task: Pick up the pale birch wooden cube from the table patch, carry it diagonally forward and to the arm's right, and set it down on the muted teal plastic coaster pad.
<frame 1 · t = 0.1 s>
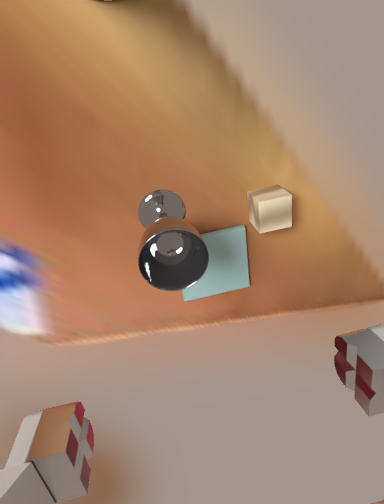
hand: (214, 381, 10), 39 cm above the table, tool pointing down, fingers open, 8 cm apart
cube: (263, 203, 51), on the table
wine glass: (162, 212, 49), on the table
pad: (212, 263, 54), on the table
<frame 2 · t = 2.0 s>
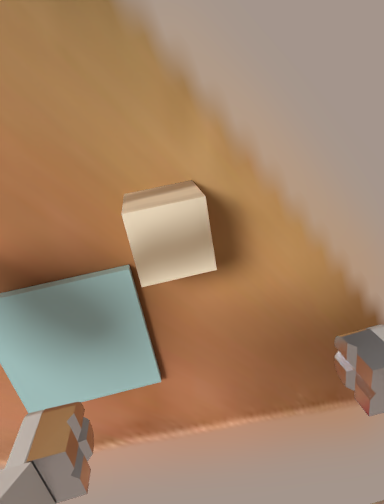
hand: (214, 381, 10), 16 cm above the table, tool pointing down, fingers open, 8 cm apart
cube: (165, 219, 24), on the table
pad: (77, 341, 27), on the table
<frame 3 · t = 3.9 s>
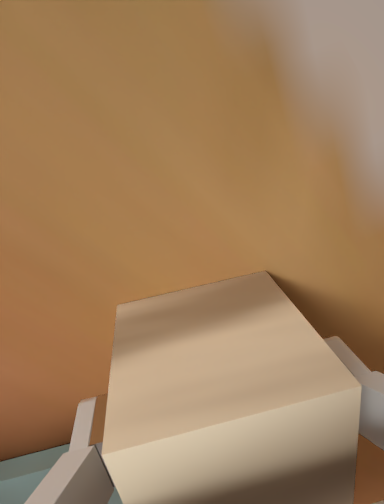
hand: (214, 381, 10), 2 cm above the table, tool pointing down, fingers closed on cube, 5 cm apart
cube: (204, 346, 11), on the table, touching gripper
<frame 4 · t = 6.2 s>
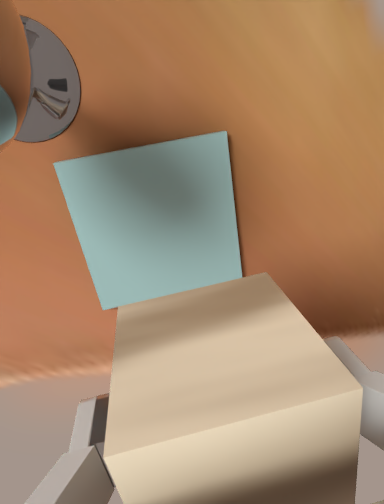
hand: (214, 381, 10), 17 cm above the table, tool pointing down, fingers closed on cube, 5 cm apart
cube: (205, 347, 11), point 15 cm above the table, touching gripper
wine glass: (21, 82, 20), on the table
pad: (158, 224, 25), on the table
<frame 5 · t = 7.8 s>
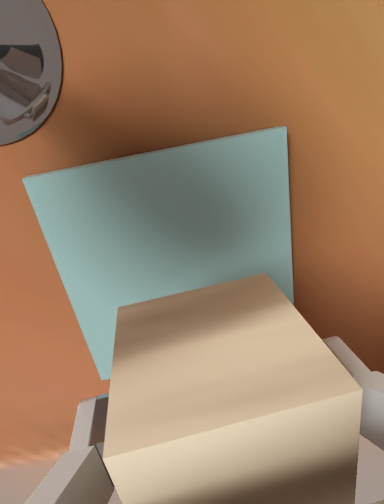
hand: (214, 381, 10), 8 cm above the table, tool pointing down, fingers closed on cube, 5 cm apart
cube: (204, 348, 11), point 7 cm above the table, touching gripper
pad: (180, 262, 17), on the table
when the fingers open (4 cm above the table, at t = 9.0 s): cube drops 2 cm, resting on pad.
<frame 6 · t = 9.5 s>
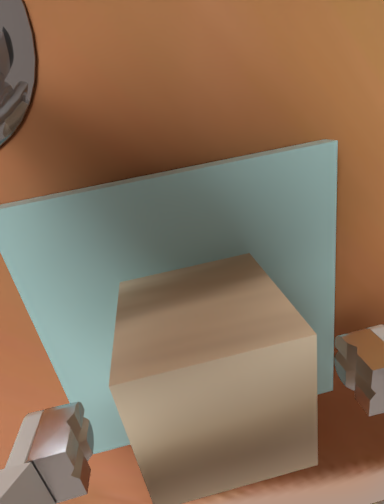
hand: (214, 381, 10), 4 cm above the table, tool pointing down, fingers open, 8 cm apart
cube: (196, 321, 13), point 1 cm above the table, touching pad
pad: (193, 310, 14), on the table
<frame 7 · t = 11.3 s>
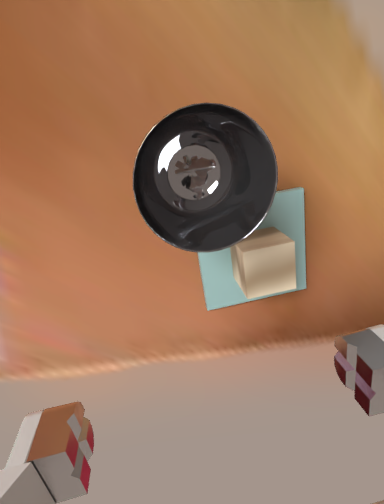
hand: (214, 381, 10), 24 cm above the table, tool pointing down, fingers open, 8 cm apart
cube: (253, 252, 35), point 1 cm above the table, touching pad
wine glass: (176, 159, 31), on the table
pad: (250, 249, 36), on the table
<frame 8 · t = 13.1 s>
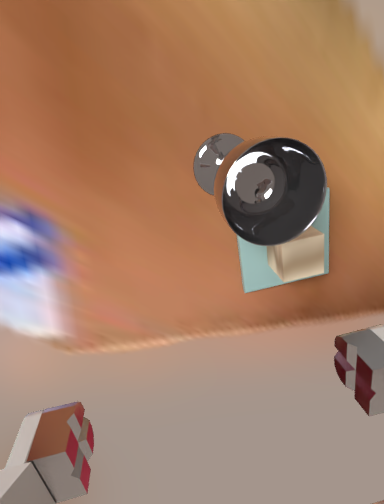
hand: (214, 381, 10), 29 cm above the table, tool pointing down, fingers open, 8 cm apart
cube: (285, 243, 41), point 1 cm above the table, touching pad
wine glass: (223, 165, 37), on the table
pad: (282, 240, 42), on the table
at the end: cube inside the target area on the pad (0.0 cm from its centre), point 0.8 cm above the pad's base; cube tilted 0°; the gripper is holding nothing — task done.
